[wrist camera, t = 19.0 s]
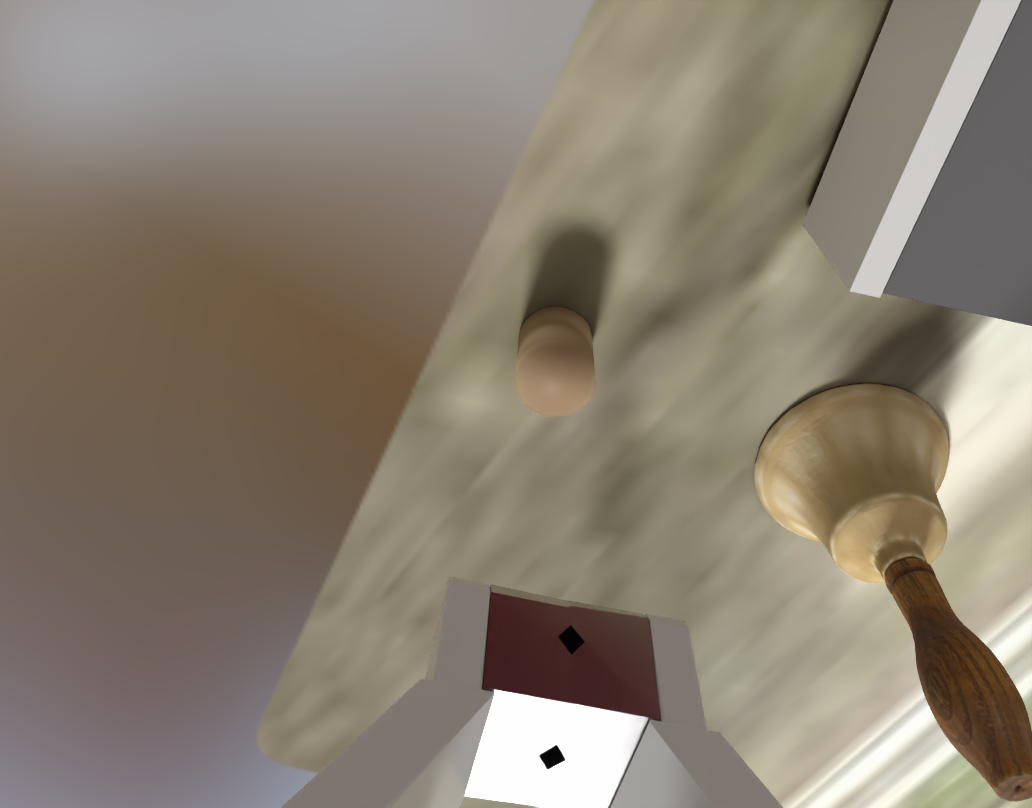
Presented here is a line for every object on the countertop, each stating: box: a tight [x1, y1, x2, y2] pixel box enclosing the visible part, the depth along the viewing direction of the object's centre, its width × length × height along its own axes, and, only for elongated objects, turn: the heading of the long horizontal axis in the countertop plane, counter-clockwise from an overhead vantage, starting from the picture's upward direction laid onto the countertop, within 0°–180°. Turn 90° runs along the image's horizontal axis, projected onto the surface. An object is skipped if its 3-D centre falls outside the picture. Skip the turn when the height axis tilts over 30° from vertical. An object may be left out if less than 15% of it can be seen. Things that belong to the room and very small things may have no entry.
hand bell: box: [754, 383, 1032, 801], centre depth 32 cm, size 8×8×16 cm
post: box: [515, 307, 595, 417], centre depth 34 cm, size 3×3×4 cm
